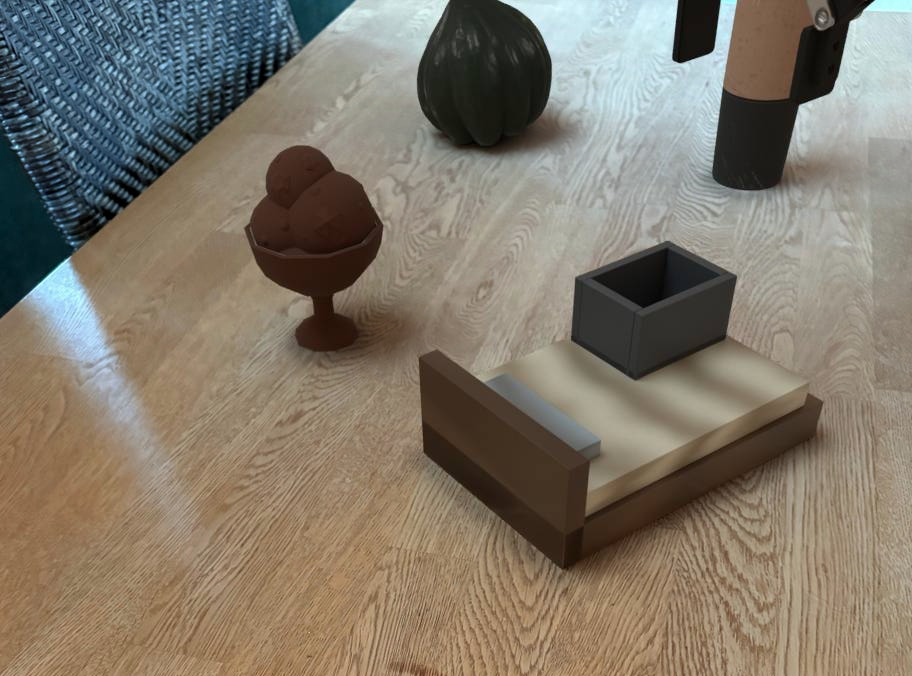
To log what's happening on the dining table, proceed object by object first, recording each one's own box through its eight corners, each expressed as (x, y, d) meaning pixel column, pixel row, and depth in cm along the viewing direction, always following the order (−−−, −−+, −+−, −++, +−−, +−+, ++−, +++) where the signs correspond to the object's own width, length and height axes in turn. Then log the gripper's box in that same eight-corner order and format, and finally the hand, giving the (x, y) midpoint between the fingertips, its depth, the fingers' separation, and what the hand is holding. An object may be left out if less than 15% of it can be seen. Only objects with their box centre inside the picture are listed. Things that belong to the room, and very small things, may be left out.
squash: (594, 90, 110) (537, -50, 107) (482, 130, 105) (419, -16, 102) (532, 149, 123) (480, 26, 120) (430, 187, 118) (374, 60, 115)
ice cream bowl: (242, 358, 85) (206, 176, 74) (298, 294, 92) (273, 120, 81) (358, 378, 82) (339, 192, 72) (407, 311, 90) (397, 132, 79)
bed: (662, 345, 84) (675, 252, 78) (814, 436, 75) (842, 338, 69) (423, 452, 75) (418, 356, 70) (562, 569, 66) (570, 470, 60)
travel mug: (707, 160, 109) (741, -61, 95) (780, 161, 108) (826, -62, 94) (710, 190, 104) (747, -39, 90) (787, 192, 103) (837, -39, 89)
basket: (659, 302, 79) (668, 240, 76) (725, 339, 75) (738, 275, 72) (570, 340, 76) (574, 276, 72) (634, 381, 72) (642, 316, 68)
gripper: (1012, -300, 47) (906, 99, 59) (733, -312, 57) (693, 31, 69) (904, -279, 44) (817, 133, 57) (632, -296, 54) (609, 57, 67)
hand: (749, 77), depth 63 cm, fingers open, 9 cm apart
